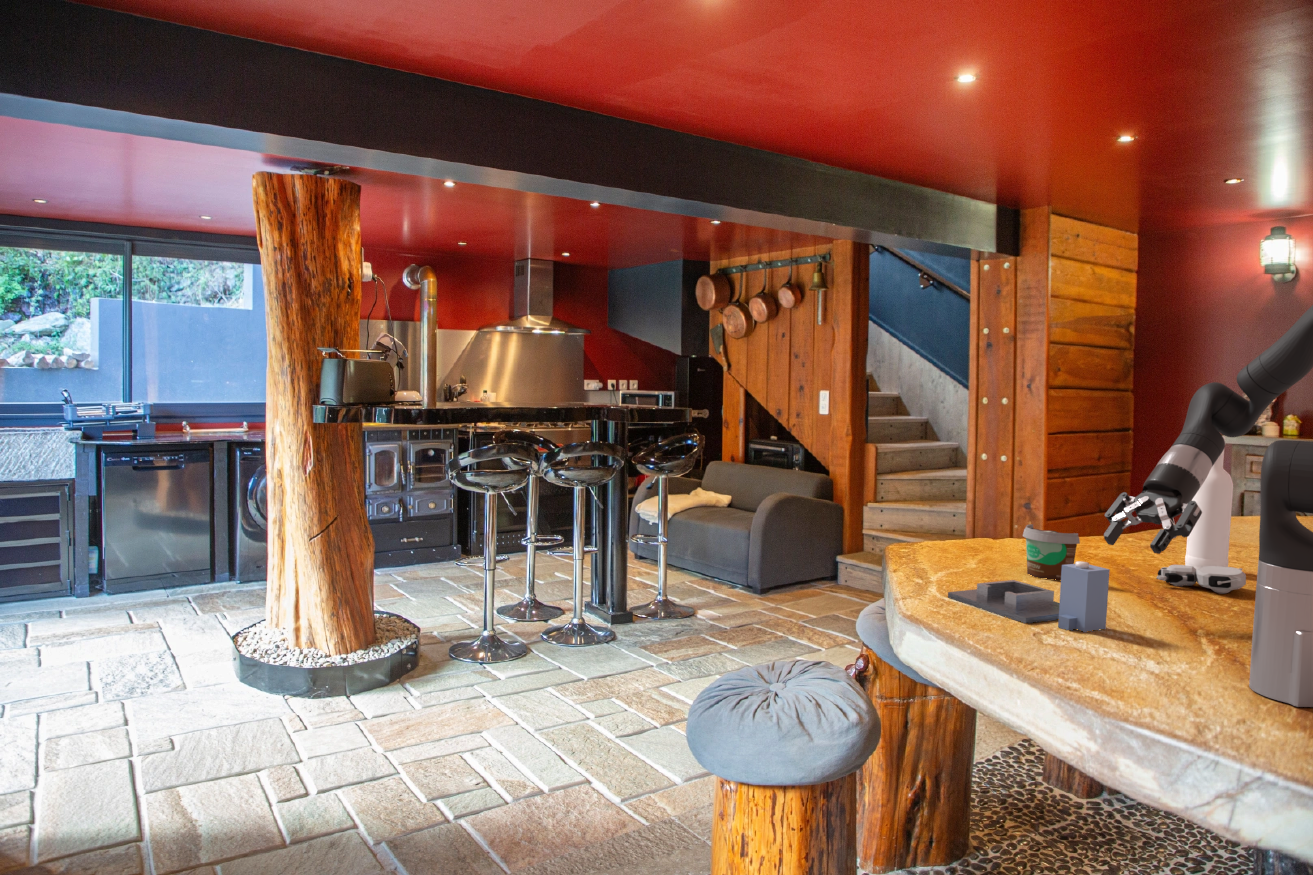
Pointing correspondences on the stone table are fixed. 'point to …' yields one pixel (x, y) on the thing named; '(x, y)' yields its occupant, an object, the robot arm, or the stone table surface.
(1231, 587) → the robot toy
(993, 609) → the plate
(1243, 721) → the stone table surface
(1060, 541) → the food container
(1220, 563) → the bottle
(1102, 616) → the block
